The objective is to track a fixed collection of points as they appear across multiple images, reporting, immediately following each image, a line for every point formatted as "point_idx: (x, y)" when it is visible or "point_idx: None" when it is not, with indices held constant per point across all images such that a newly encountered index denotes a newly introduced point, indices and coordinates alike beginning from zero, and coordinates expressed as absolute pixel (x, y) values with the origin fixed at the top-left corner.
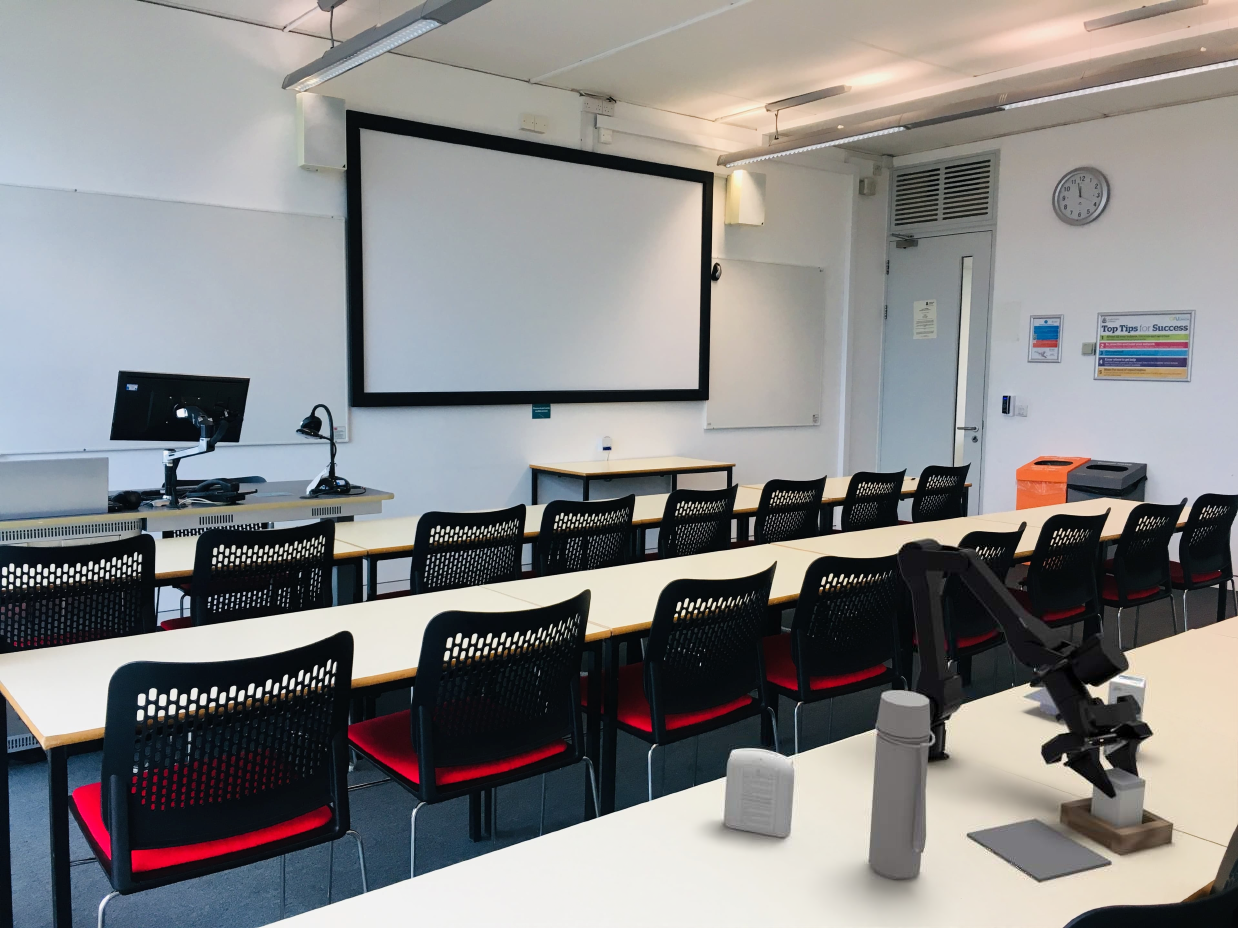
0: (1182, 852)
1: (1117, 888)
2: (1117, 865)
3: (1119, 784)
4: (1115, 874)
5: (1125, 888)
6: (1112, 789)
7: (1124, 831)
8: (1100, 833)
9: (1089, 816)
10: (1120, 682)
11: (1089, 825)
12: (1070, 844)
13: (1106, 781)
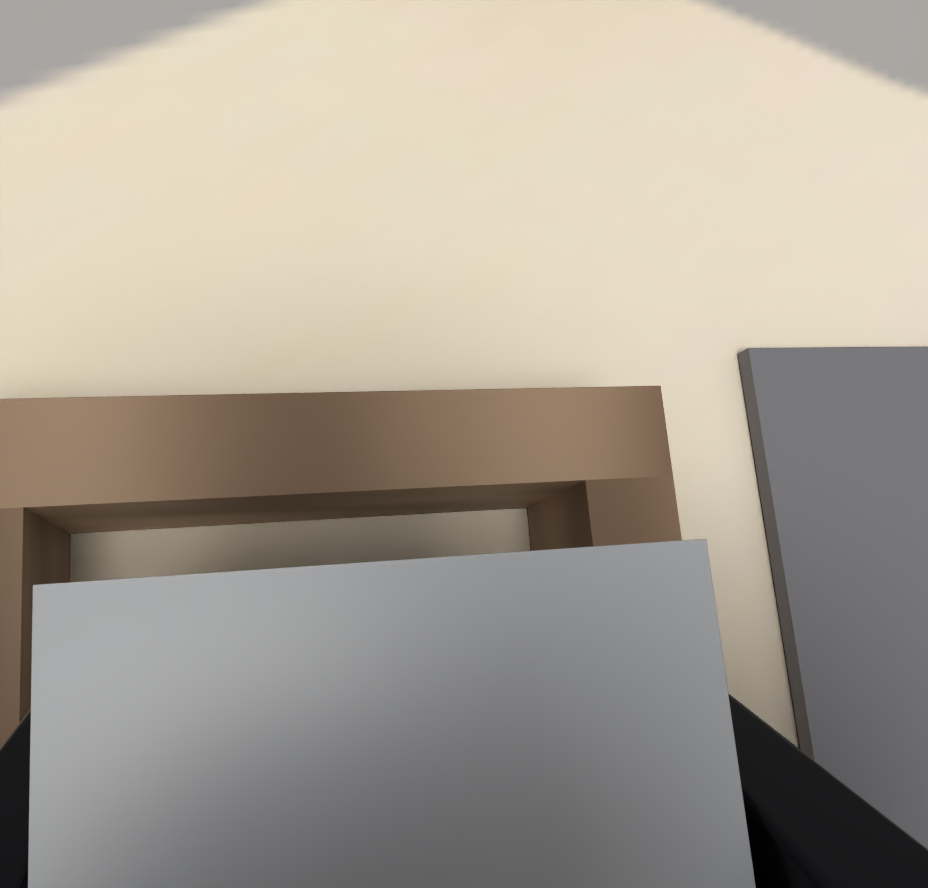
0: (59, 291)
1: (889, 146)
2: (711, 327)
3: (707, 597)
4: (799, 254)
5: (847, 129)
6: None
7: (579, 433)
8: None
9: None
10: None
11: None
12: (866, 628)
13: (826, 785)
